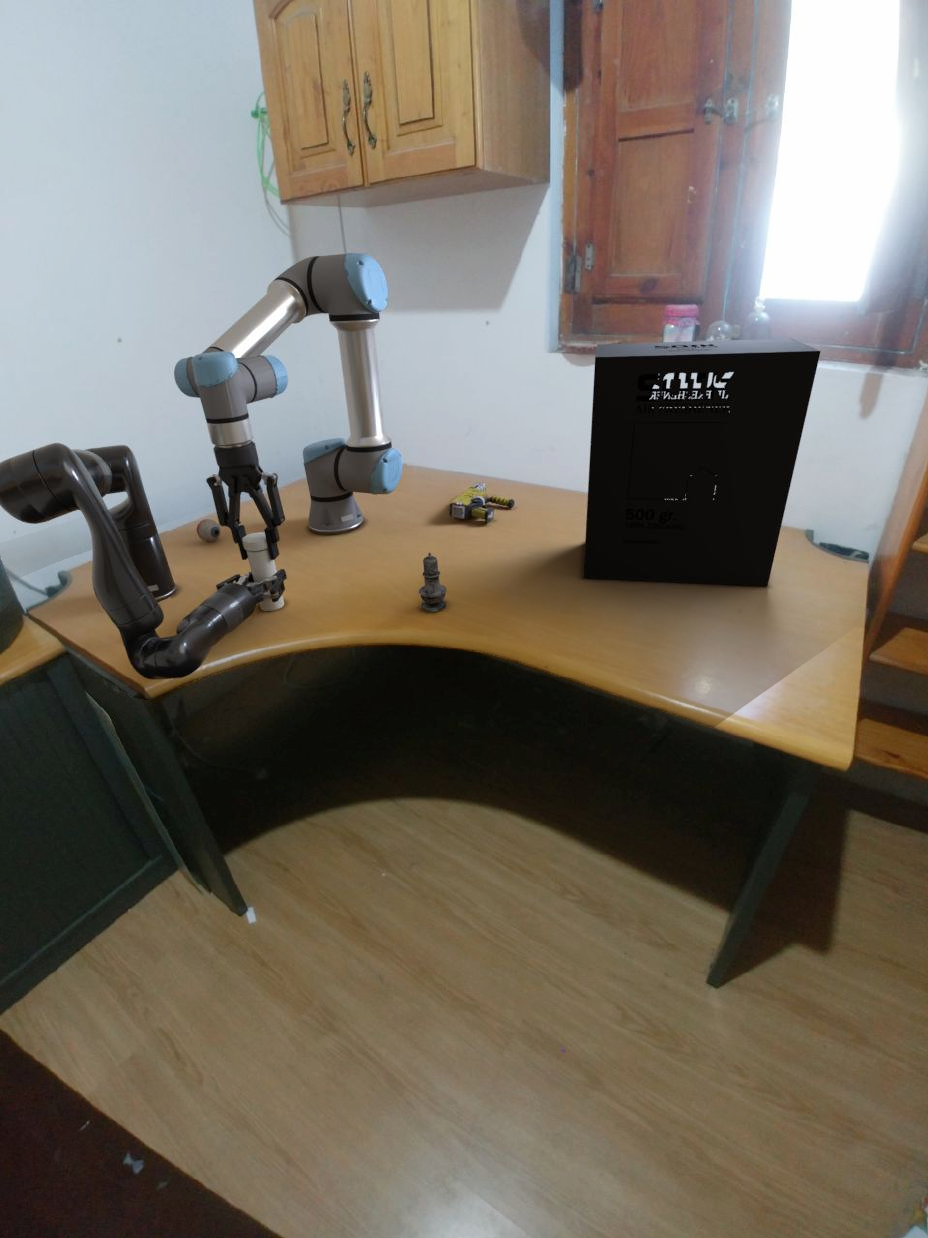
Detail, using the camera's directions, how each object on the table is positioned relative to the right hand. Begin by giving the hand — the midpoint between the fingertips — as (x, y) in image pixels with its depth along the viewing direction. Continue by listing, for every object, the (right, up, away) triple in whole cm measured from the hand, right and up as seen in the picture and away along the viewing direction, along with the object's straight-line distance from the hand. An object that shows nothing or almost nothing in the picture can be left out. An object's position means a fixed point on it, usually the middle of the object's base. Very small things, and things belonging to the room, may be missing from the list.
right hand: (260, 556), depth 124 cm
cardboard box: (+89, 0, +14) cm, 90 cm away
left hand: (+1, -3, +5) cm, 5 cm away
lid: (0, +3, -2) cm, 4 cm away
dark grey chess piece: (+36, -10, +2) cm, 37 cm away
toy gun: (+48, +19, +50) cm, 72 cm away
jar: (+1, -10, +6) cm, 11 cm away
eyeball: (-27, +8, +40) cm, 49 cm away
